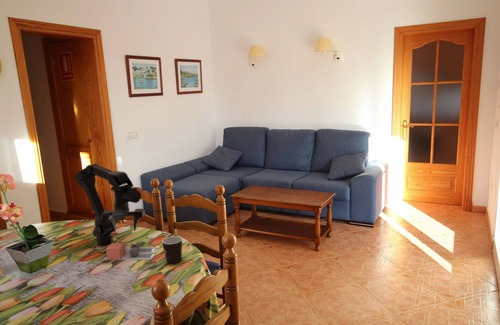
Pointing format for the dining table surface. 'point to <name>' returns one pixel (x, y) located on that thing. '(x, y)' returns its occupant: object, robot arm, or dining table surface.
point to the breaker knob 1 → (135, 245)
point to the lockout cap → (115, 250)
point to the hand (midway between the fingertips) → (124, 231)
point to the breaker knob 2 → (134, 252)
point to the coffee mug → (173, 249)
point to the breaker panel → (143, 253)
